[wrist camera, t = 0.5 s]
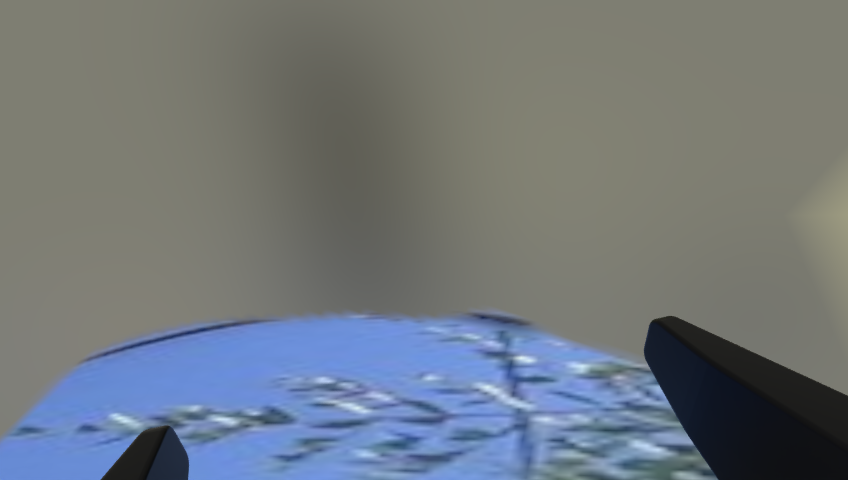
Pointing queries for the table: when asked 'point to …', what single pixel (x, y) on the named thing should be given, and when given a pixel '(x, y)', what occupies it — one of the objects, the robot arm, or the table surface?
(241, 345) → the table surface
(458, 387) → the table surface
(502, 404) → the table surface
